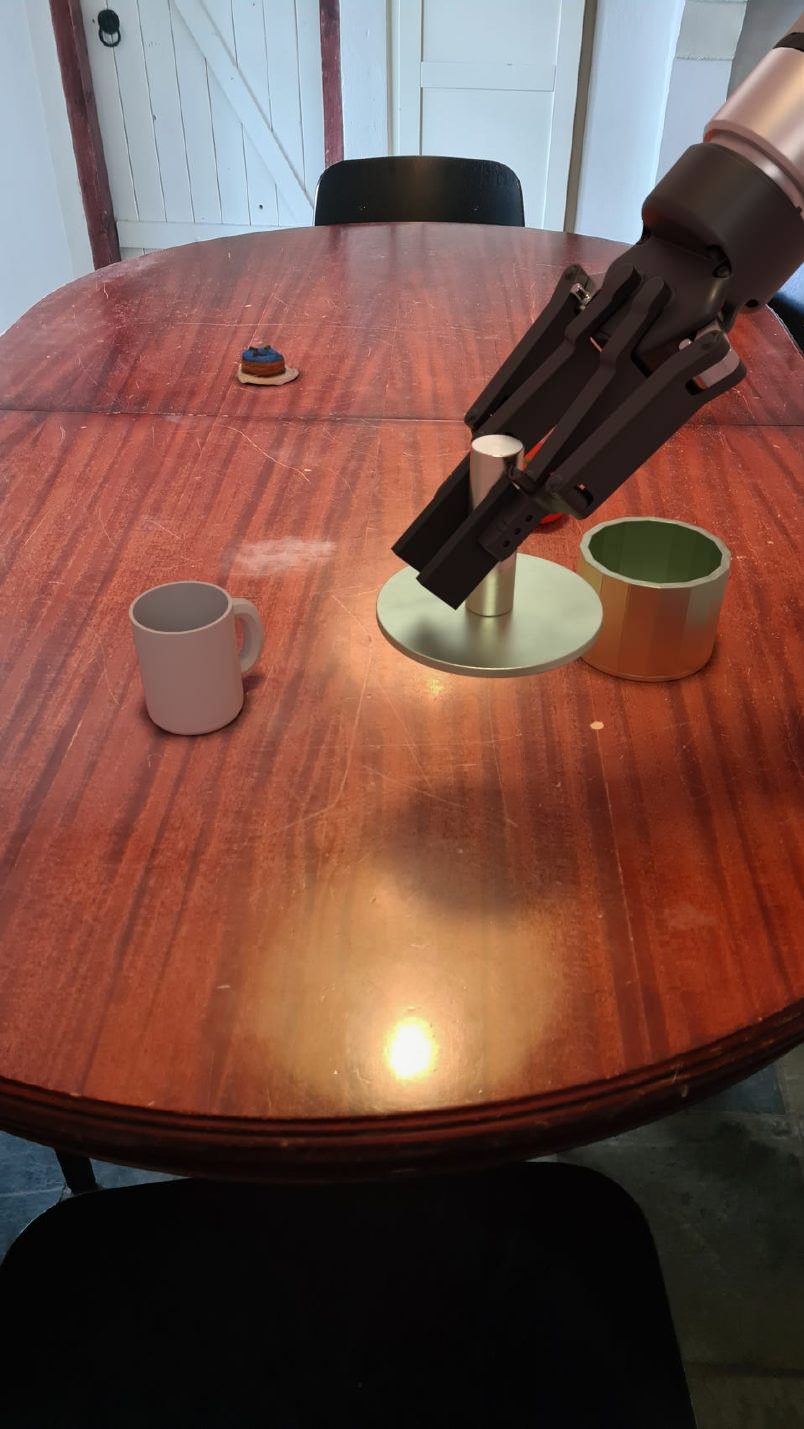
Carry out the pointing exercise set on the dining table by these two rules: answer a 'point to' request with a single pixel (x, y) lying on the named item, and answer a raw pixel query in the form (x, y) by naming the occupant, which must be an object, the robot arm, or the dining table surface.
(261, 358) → the dessert
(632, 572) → the round metal container
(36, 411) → the dining table surface
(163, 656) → the cup
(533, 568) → the lid
